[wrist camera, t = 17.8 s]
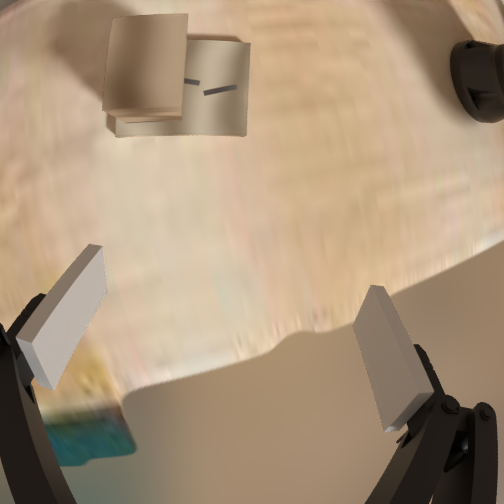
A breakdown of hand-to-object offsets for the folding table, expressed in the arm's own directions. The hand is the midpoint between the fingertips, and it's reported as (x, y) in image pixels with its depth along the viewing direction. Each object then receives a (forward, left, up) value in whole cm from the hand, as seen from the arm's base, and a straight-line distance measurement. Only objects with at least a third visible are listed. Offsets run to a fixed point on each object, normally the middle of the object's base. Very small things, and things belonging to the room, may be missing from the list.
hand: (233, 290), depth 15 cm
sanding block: (+6, -14, -20) cm, 25 cm away
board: (+3, -14, -22) cm, 26 cm away
